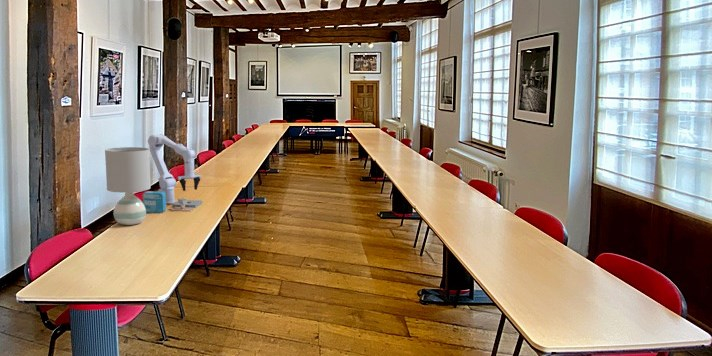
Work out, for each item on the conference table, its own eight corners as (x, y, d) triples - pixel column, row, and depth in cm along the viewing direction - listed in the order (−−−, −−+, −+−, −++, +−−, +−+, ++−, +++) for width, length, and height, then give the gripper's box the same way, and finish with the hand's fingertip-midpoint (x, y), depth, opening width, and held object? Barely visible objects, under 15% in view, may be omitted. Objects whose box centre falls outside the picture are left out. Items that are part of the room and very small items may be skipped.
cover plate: (172, 207, 334) (172, 204, 334) (180, 202, 348) (180, 199, 348) (195, 208, 334) (195, 205, 334) (202, 203, 348) (202, 200, 348)
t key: (178, 208, 331) (177, 198, 330) (182, 207, 333) (181, 197, 331) (183, 210, 326) (183, 200, 325) (187, 209, 328) (187, 199, 326)
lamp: (99, 225, 288) (95, 150, 281) (129, 217, 308) (126, 146, 301) (131, 230, 280) (128, 152, 274) (160, 221, 300) (158, 148, 294)
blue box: (143, 212, 320) (142, 192, 318) (146, 210, 324) (145, 191, 322) (163, 213, 319) (162, 193, 317) (166, 211, 324) (165, 191, 322)
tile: (170, 210, 325) (170, 209, 325) (175, 207, 333) (175, 207, 333) (190, 211, 325) (190, 210, 325) (194, 208, 333) (194, 207, 333)
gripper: (181, 170, 331) (181, 192, 334) (203, 168, 341) (203, 189, 343) (176, 169, 337) (176, 190, 339) (198, 167, 346) (198, 188, 348)
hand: (189, 190), depth 341 cm, fingers open, 7 cm apart
